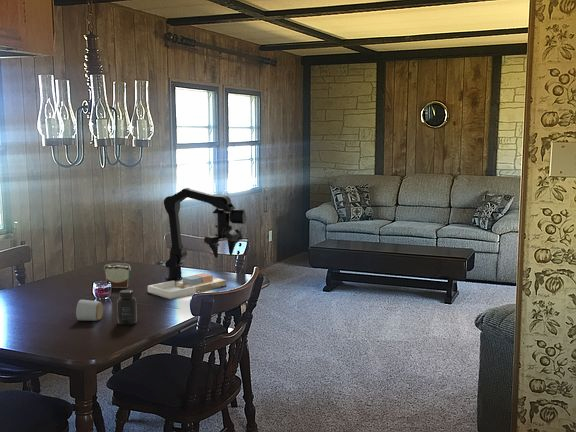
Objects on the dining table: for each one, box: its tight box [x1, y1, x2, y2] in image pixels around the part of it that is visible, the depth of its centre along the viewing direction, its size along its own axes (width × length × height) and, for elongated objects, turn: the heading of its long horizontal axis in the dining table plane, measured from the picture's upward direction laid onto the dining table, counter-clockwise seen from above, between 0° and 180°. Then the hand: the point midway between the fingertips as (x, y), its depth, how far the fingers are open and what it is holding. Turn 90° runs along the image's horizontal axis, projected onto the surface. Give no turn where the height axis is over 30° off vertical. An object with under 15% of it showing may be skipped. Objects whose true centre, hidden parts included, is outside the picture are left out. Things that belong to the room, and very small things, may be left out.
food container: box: [103, 262, 132, 289], centre depth 291 cm, size 12×6×10 cm, turn 84°
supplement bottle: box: [116, 289, 138, 326], centre depth 235 cm, size 7×7×12 cm
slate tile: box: [181, 274, 202, 285], centre depth 287 cm, size 6×6×2 cm
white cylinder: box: [75, 299, 104, 322], centre depth 240 cm, size 11×8×8 cm
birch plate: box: [175, 276, 227, 293], centre depth 291 cm, size 14×18×2 cm
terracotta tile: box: [194, 272, 214, 283], centre depth 292 cm, size 6×6×2 cm
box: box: [147, 280, 197, 300], centre depth 279 cm, size 16×14×3 cm
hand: (223, 256), depth 299 cm, fingers open, 8 cm apart
